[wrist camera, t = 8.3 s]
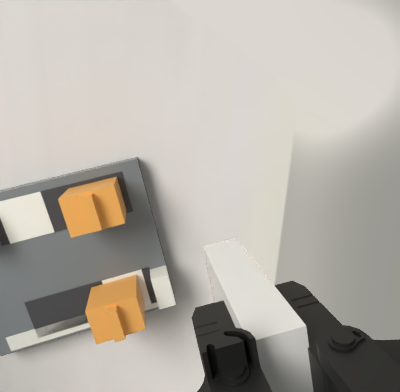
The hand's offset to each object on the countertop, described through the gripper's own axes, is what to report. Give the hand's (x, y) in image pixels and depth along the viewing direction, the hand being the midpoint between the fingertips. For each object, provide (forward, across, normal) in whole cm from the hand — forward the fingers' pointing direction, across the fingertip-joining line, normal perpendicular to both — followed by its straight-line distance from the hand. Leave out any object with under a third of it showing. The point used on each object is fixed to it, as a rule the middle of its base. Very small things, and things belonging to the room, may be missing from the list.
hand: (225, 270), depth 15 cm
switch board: (+17, -11, -3) cm, 21 cm away
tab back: (+15, -8, -8) cm, 19 cm away
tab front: (+15, -7, +1) cm, 17 cm away
